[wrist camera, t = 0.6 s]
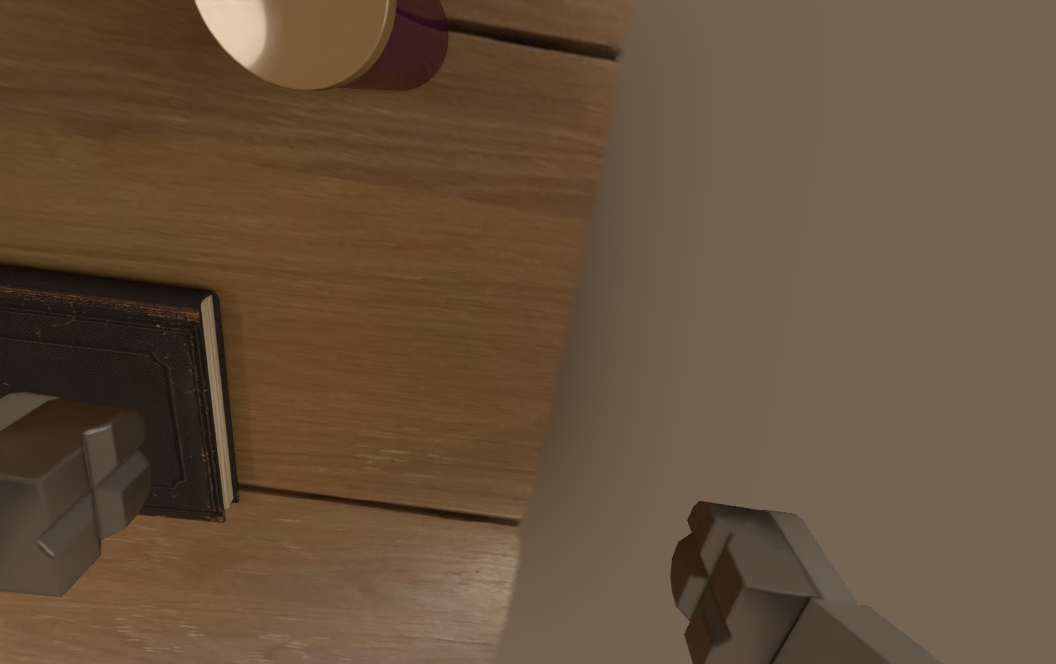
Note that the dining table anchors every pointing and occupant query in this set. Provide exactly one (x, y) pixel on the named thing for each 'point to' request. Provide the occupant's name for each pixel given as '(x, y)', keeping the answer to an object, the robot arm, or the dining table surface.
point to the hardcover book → (131, 372)
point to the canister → (331, 41)
